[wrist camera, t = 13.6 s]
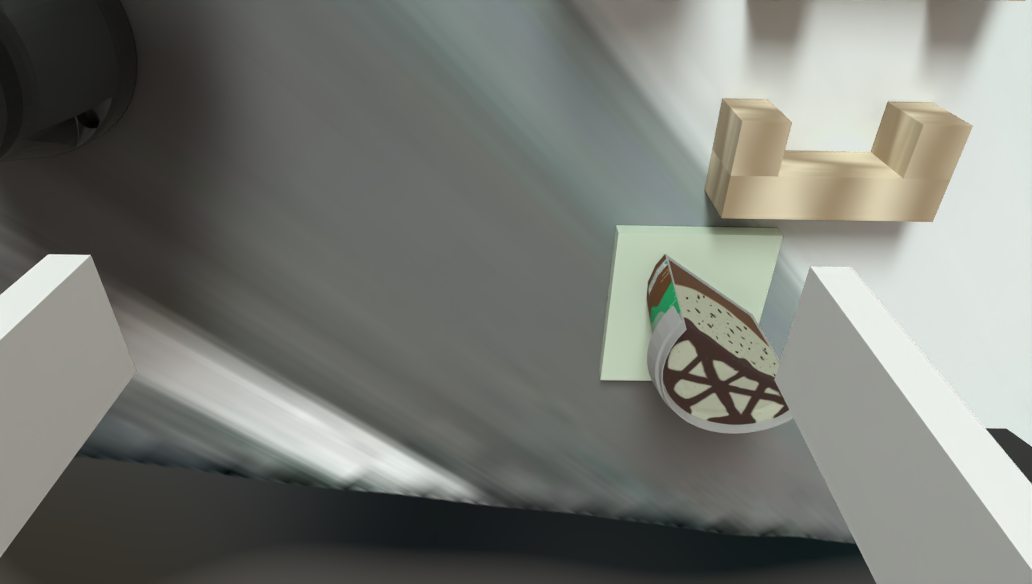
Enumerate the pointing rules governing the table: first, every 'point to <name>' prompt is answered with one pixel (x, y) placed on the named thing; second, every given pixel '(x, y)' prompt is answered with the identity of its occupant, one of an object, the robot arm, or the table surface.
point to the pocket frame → (833, 166)
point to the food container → (710, 355)
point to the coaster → (702, 250)
